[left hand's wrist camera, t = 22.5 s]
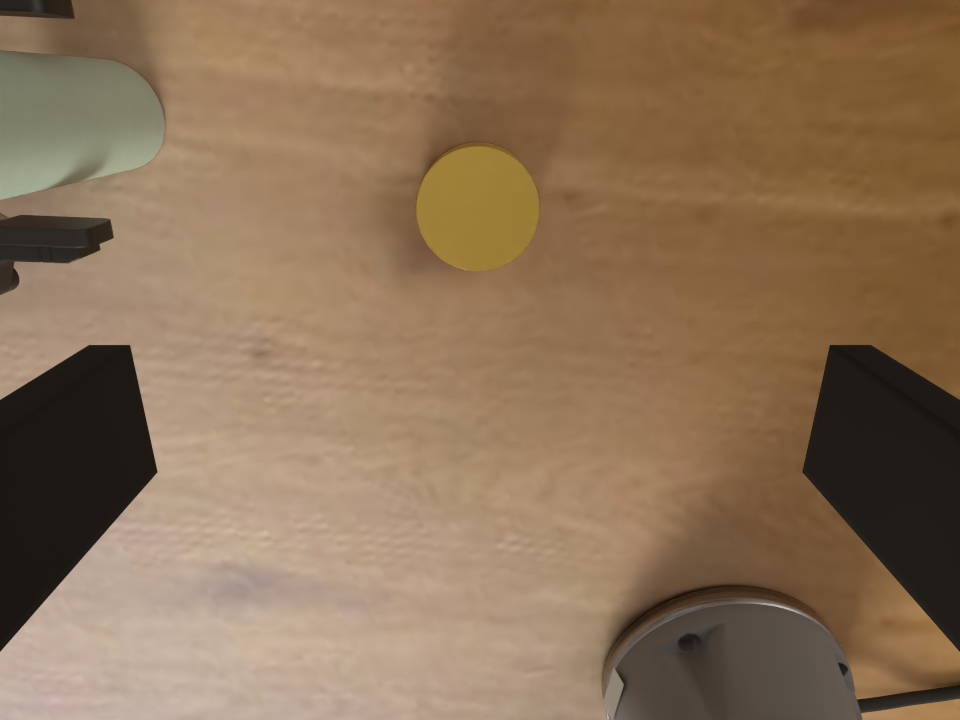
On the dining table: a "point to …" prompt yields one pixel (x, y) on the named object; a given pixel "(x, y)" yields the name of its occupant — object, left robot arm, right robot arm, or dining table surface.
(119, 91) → the jar
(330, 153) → the dining table surface
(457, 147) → the lid
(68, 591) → the dining table surface
